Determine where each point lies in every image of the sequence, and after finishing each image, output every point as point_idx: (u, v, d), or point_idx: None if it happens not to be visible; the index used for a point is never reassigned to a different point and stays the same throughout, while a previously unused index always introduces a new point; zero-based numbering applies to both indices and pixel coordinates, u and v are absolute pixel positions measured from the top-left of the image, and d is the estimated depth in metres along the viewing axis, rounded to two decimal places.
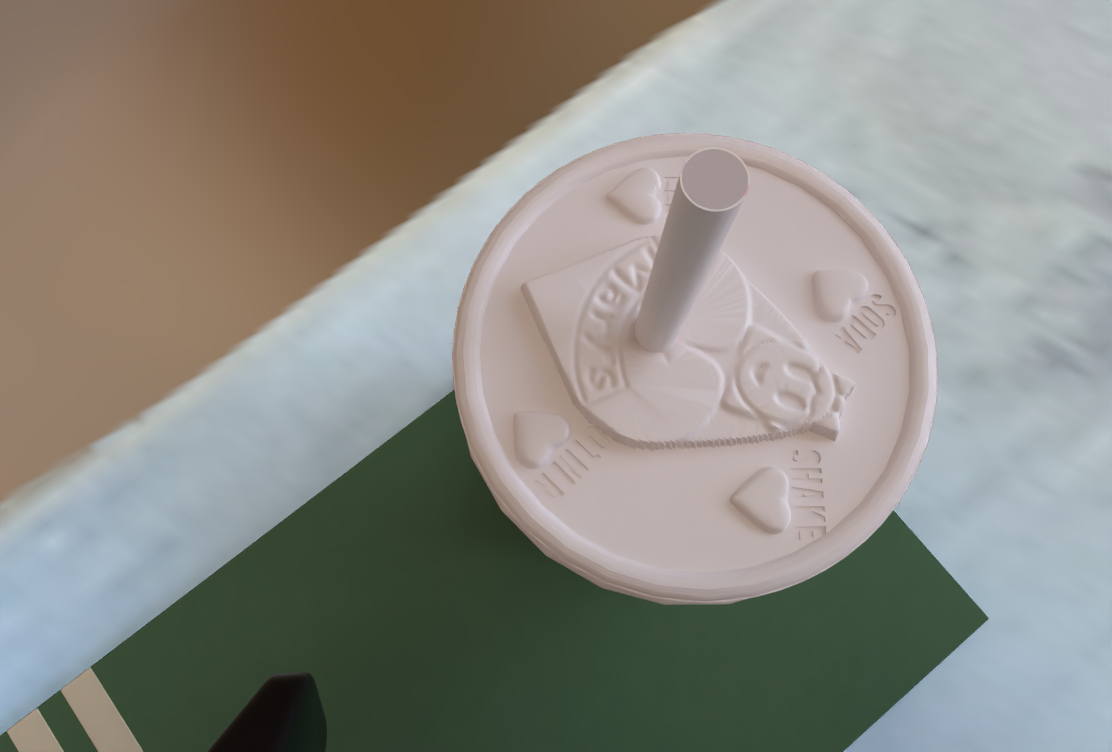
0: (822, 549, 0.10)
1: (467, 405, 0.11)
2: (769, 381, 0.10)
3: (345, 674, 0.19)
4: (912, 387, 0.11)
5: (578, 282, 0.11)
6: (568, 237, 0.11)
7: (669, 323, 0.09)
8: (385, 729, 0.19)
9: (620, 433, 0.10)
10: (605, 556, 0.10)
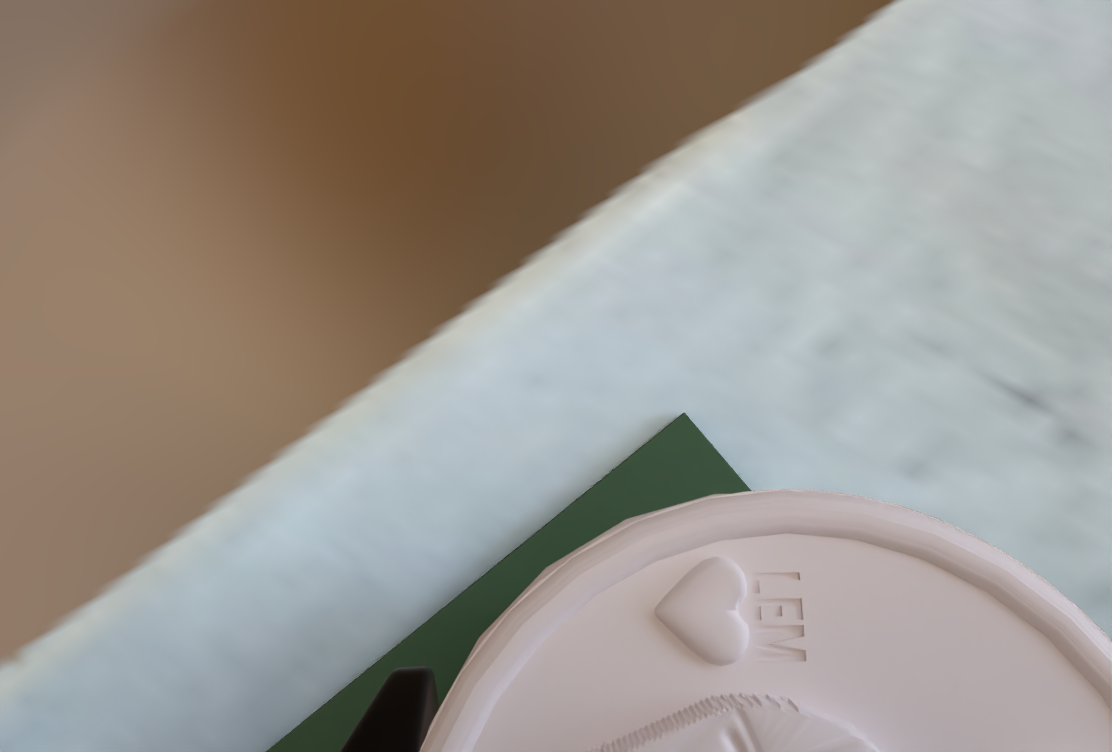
0: None
1: None
2: None
3: None
4: None
5: None
6: (588, 691, 0.06)
7: None
8: None
9: None
10: None
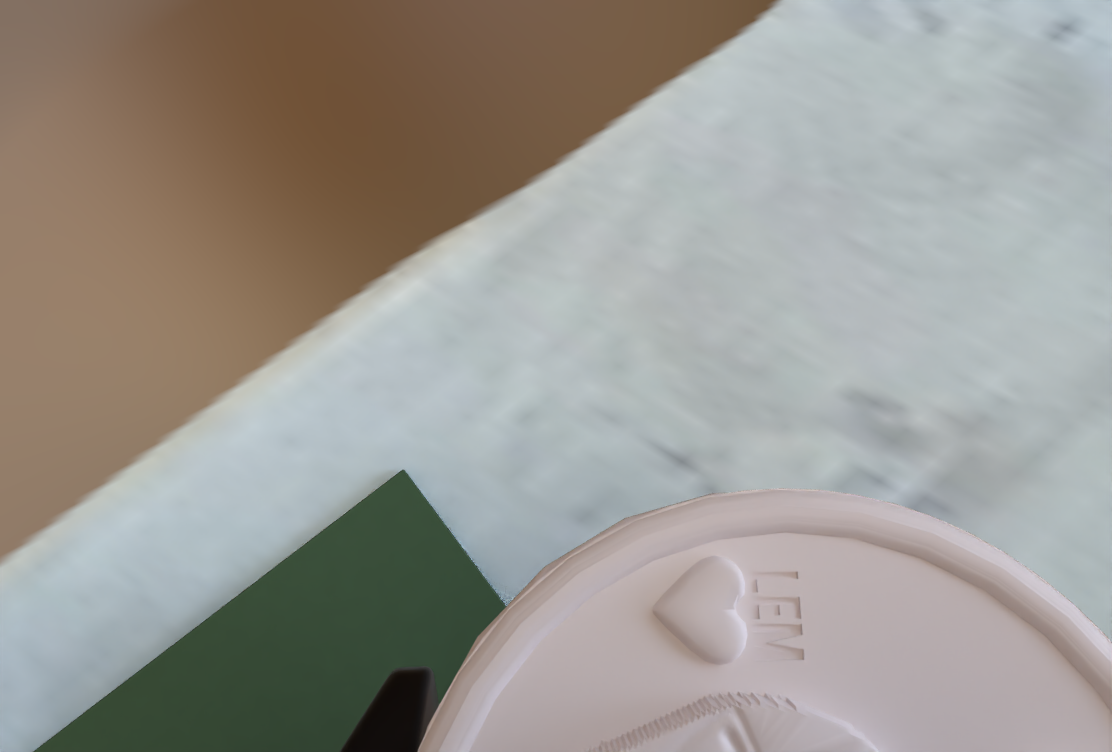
0: None
1: None
2: None
3: None
4: None
5: None
6: (586, 690, 0.06)
7: None
8: None
9: None
10: None
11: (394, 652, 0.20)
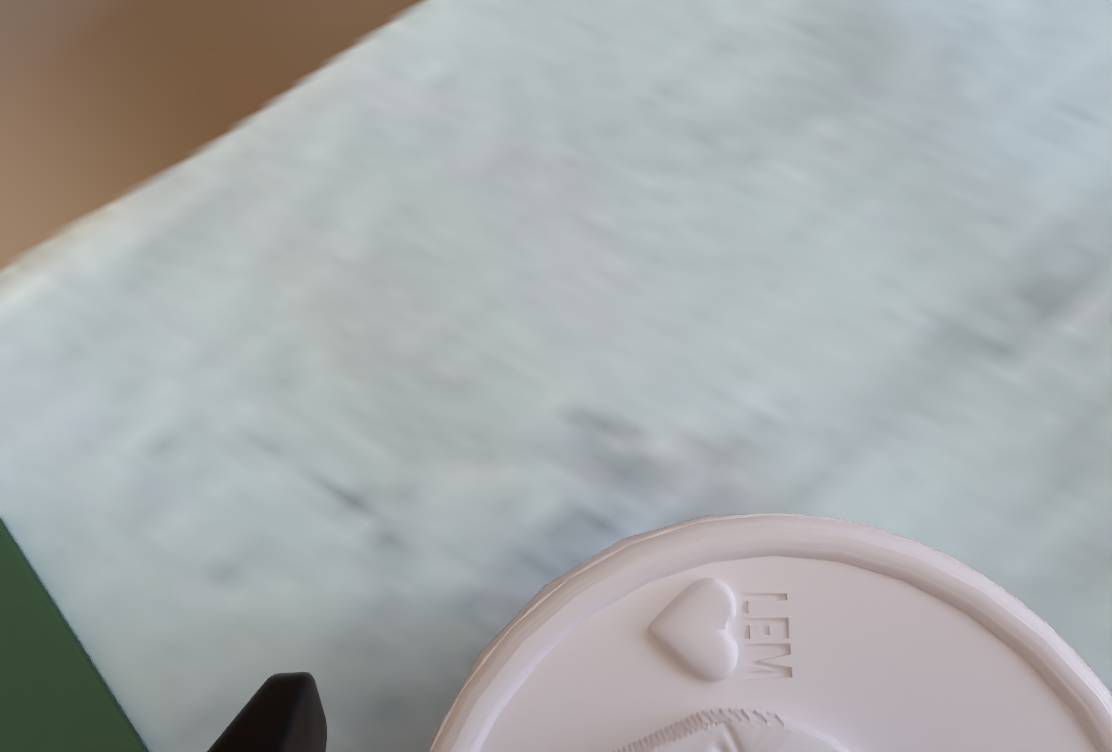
0: None
1: None
2: None
3: None
4: None
5: None
6: (585, 706, 0.07)
7: None
8: None
9: None
10: None
11: None
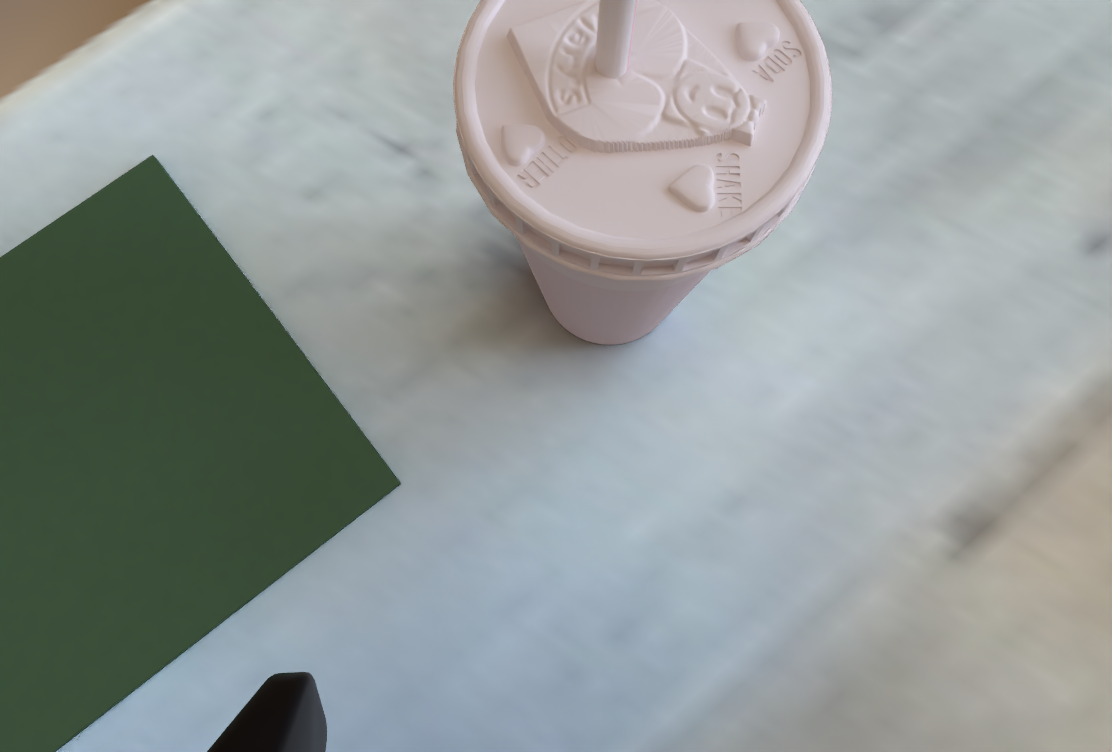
0: (738, 222, 0.13)
1: (465, 119, 0.14)
2: (699, 98, 0.13)
3: None
4: (811, 107, 0.14)
5: (552, 27, 0.14)
6: None
7: (618, 31, 0.12)
8: None
9: (583, 137, 0.13)
10: (571, 226, 0.13)
11: (134, 300, 0.23)
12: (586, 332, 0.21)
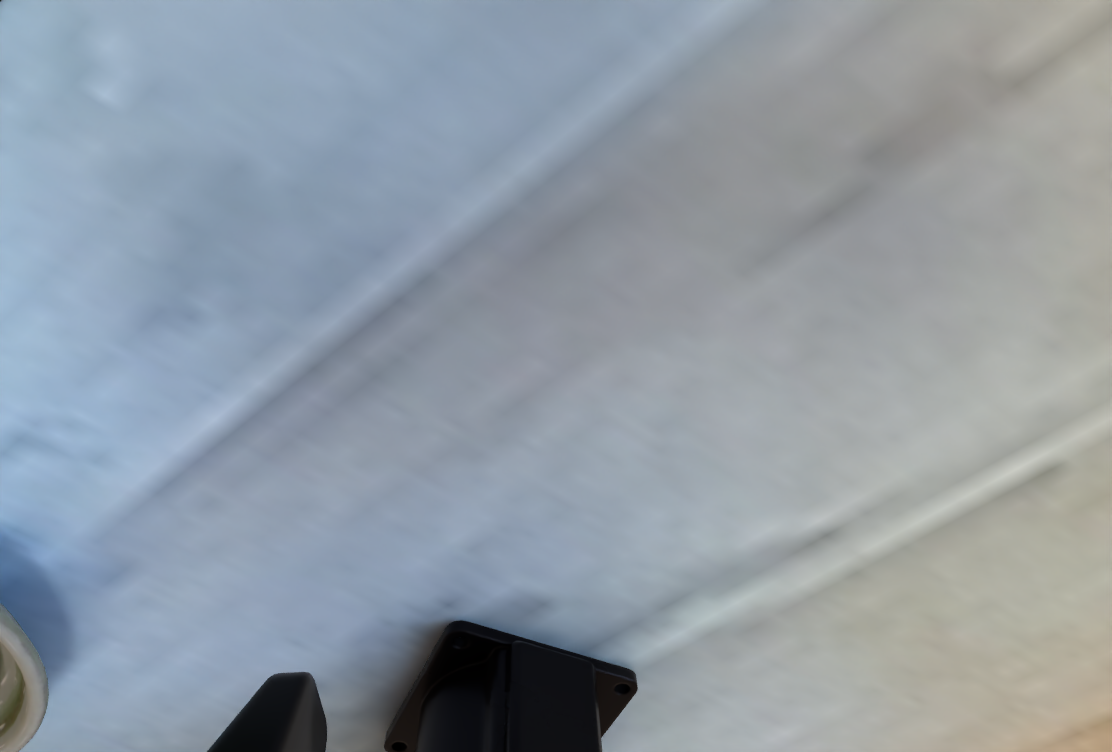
0: None
1: None
2: None
3: None
4: None
5: None
6: None
7: None
8: None
9: None
10: None
11: None
12: None
